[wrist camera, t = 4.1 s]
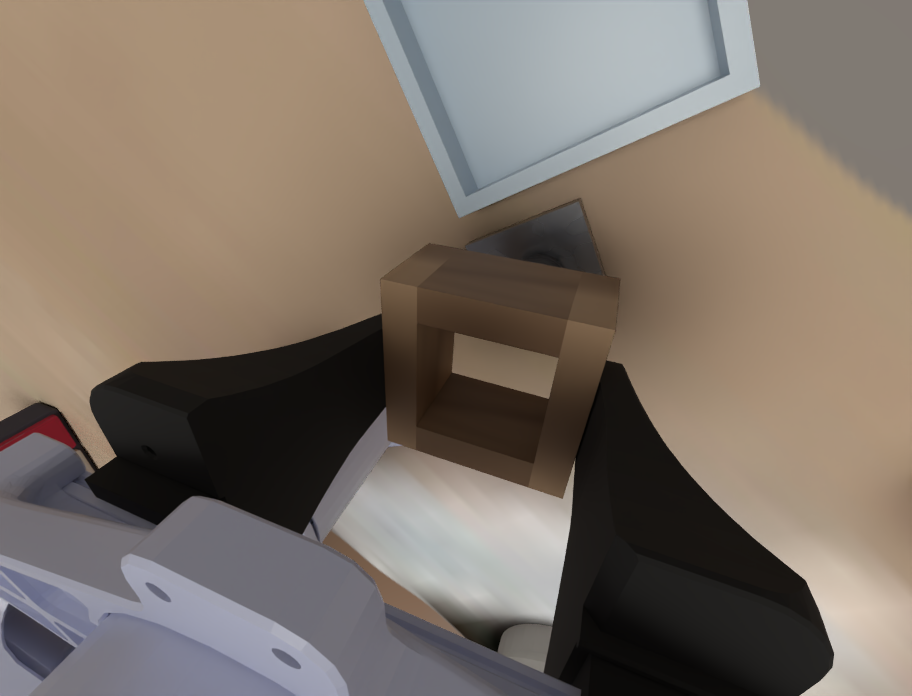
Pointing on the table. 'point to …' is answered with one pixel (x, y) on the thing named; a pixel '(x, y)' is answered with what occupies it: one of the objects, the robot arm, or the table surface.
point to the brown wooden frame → (502, 321)
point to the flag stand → (526, 644)
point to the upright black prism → (41, 429)
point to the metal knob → (547, 240)
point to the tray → (556, 79)
